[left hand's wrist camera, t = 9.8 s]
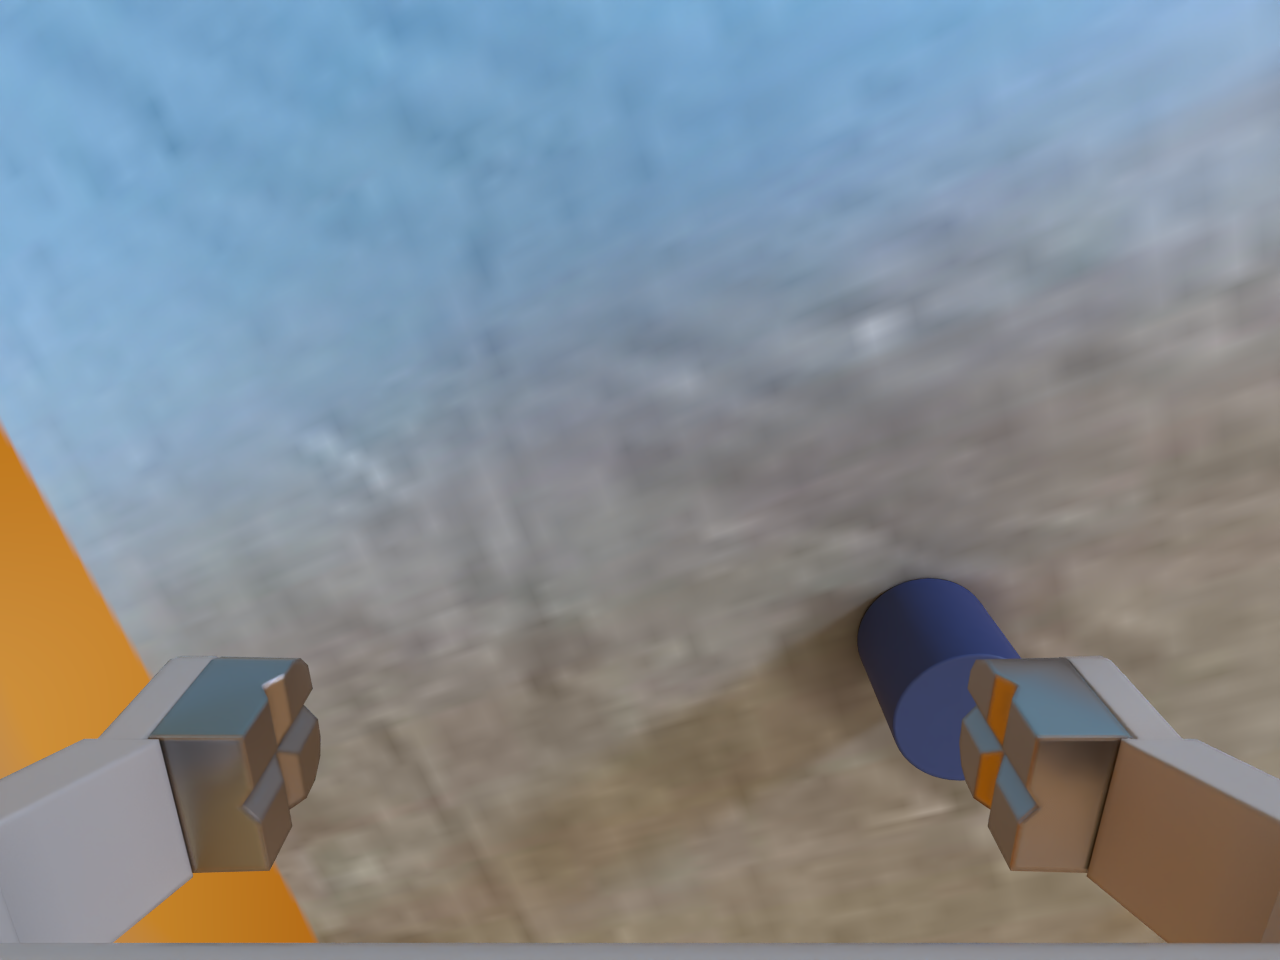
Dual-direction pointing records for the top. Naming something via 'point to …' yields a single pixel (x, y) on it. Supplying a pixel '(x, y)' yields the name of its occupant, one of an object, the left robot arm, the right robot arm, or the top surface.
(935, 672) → the can
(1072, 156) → the top surface
